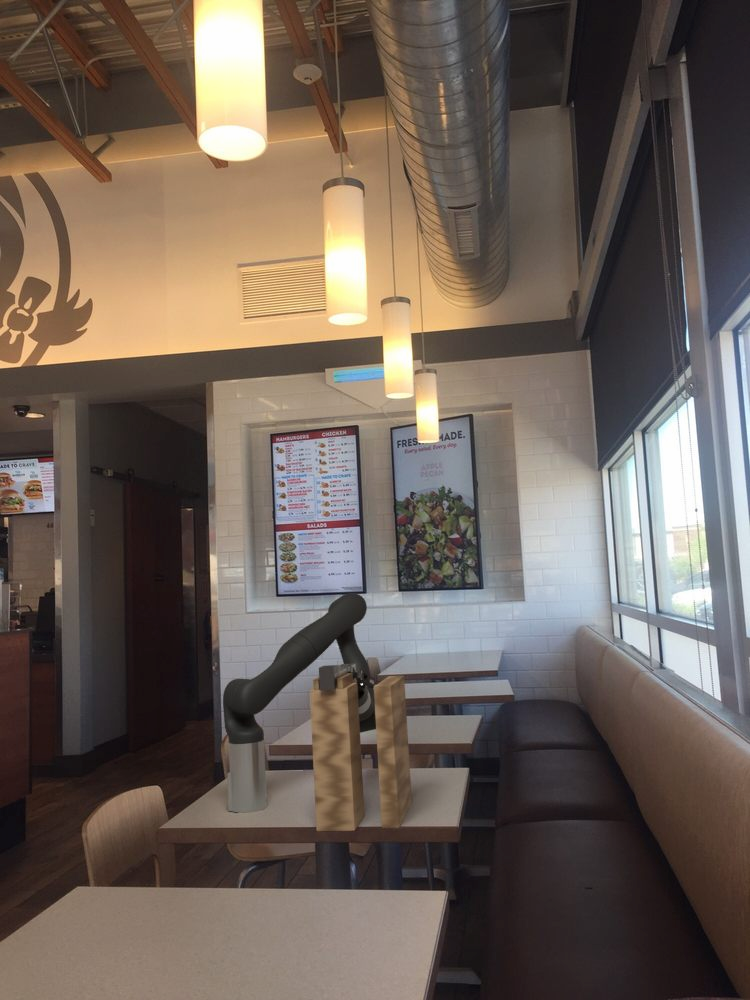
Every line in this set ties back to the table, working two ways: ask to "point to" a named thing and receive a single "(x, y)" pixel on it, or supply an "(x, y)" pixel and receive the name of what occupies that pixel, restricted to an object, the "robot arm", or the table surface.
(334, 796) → the stand
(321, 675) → the grey metal bar
